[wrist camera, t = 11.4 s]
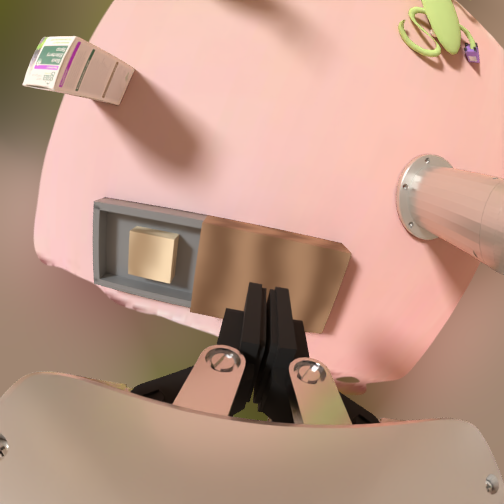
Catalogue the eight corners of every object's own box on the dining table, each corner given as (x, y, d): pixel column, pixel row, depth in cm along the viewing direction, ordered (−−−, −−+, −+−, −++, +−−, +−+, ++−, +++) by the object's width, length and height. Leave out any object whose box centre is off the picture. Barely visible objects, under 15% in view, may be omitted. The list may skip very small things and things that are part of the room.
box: (207, 215, 34) (203, 220, 31) (195, 297, 38) (191, 307, 35) (104, 197, 33) (94, 201, 30) (103, 274, 37) (94, 283, 34)
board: (341, 243, 35) (351, 253, 31) (315, 317, 39) (321, 333, 35) (207, 215, 34) (202, 222, 30) (195, 297, 38) (190, 311, 34)
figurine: (453, -17, 17) (467, -25, 12) (479, 87, 26) (500, 84, 20) (374, -54, 16) (384, -69, 11) (397, 48, 25) (416, 37, 20)
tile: (129, 230, 31) (137, 225, 33) (128, 273, 33) (134, 266, 35) (174, 239, 32) (179, 234, 34) (169, 283, 34) (174, 275, 36)
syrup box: (136, 68, 27) (78, 31, 13) (119, 107, 29) (52, 90, 15) (105, 63, 26) (42, 33, 12) (89, 100, 28) (19, 86, 14)
